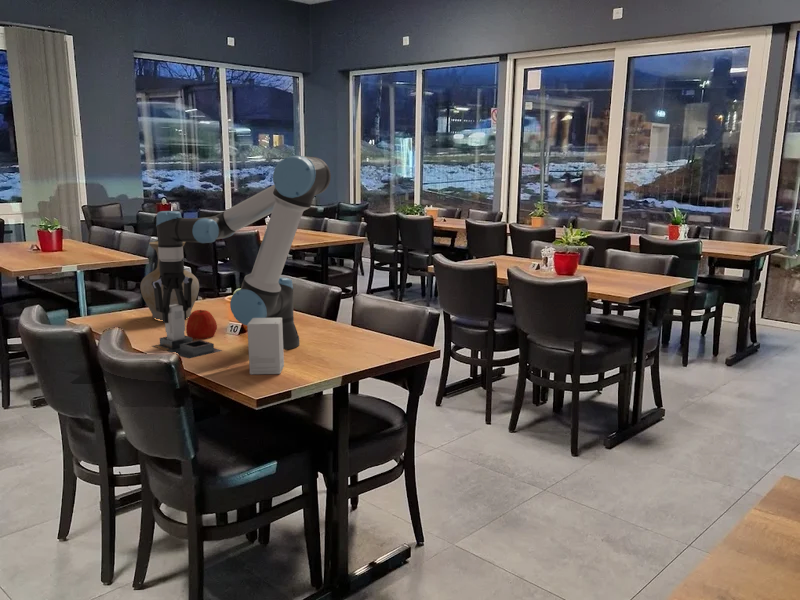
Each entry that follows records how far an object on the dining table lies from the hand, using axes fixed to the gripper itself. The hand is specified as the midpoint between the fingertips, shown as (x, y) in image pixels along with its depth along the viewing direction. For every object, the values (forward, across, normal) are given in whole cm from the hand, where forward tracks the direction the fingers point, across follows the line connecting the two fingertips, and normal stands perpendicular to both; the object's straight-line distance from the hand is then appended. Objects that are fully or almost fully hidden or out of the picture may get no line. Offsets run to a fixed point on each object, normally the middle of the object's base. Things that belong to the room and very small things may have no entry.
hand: (175, 331), depth 216 cm
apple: (+6, -13, -5) cm, 15 cm away
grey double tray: (+6, 0, +6) cm, 8 cm away
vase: (+6, -24, -44) cm, 50 cm away
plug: (+4, 0, 0) cm, 4 cm away
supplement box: (+6, -4, +41) cm, 42 cm away
